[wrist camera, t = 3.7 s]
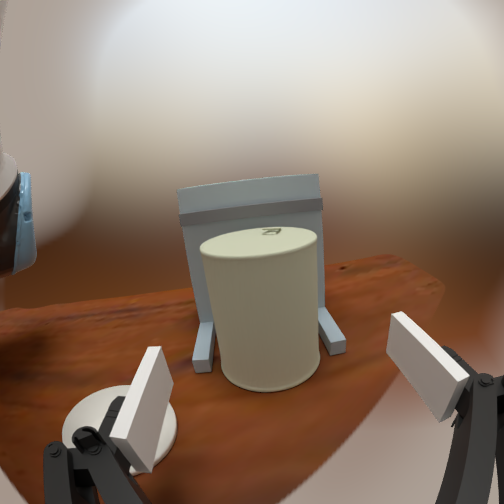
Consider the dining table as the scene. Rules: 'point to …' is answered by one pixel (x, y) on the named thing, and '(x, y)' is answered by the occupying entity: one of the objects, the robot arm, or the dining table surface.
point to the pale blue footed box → (242, 218)
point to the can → (264, 305)
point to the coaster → (94, 413)
